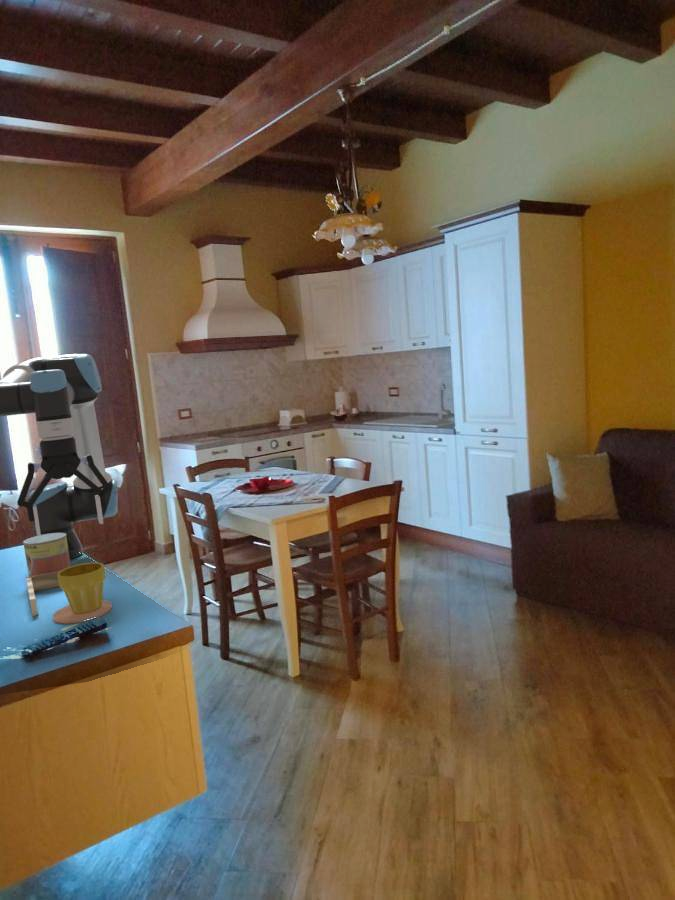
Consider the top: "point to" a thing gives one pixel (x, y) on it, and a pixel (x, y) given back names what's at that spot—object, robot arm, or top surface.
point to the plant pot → (83, 586)
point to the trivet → (69, 617)
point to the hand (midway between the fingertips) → (70, 528)
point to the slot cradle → (40, 586)
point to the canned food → (46, 553)
